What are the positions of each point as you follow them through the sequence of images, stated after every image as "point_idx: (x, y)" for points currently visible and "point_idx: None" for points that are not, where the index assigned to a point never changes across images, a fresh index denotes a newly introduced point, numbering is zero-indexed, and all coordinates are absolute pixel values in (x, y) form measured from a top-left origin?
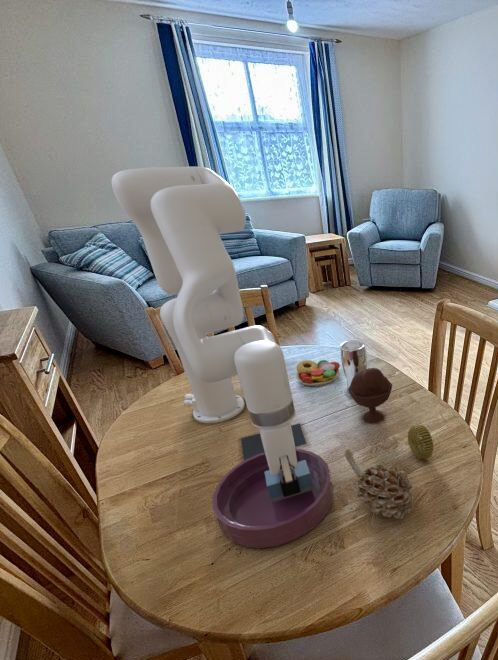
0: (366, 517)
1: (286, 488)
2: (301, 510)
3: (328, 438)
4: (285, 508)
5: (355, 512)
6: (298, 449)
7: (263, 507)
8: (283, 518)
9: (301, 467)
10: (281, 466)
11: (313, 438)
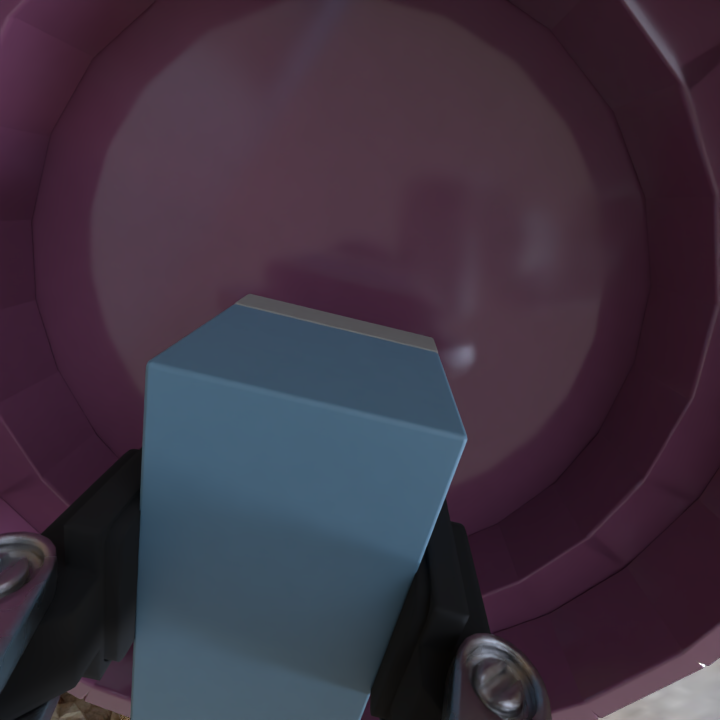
0: None
1: (82, 497)
2: None
3: (639, 709)
4: None
5: None
6: (602, 711)
7: (340, 227)
8: (163, 302)
9: (258, 712)
10: (403, 610)
11: (713, 668)
